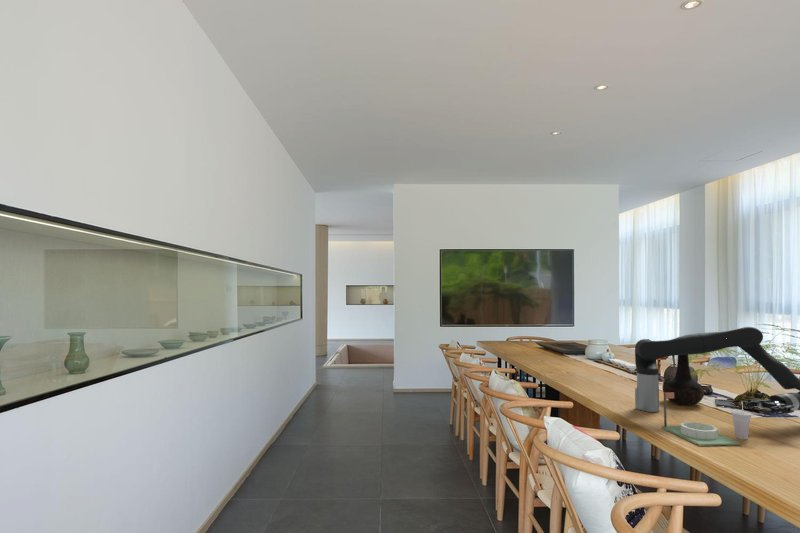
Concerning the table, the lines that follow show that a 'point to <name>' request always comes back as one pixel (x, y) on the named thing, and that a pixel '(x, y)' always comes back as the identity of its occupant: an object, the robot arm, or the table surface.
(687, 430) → the practice green
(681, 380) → the glass bottle
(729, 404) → the picture frame
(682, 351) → the robot arm
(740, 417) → the smoothie
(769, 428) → the table surface
